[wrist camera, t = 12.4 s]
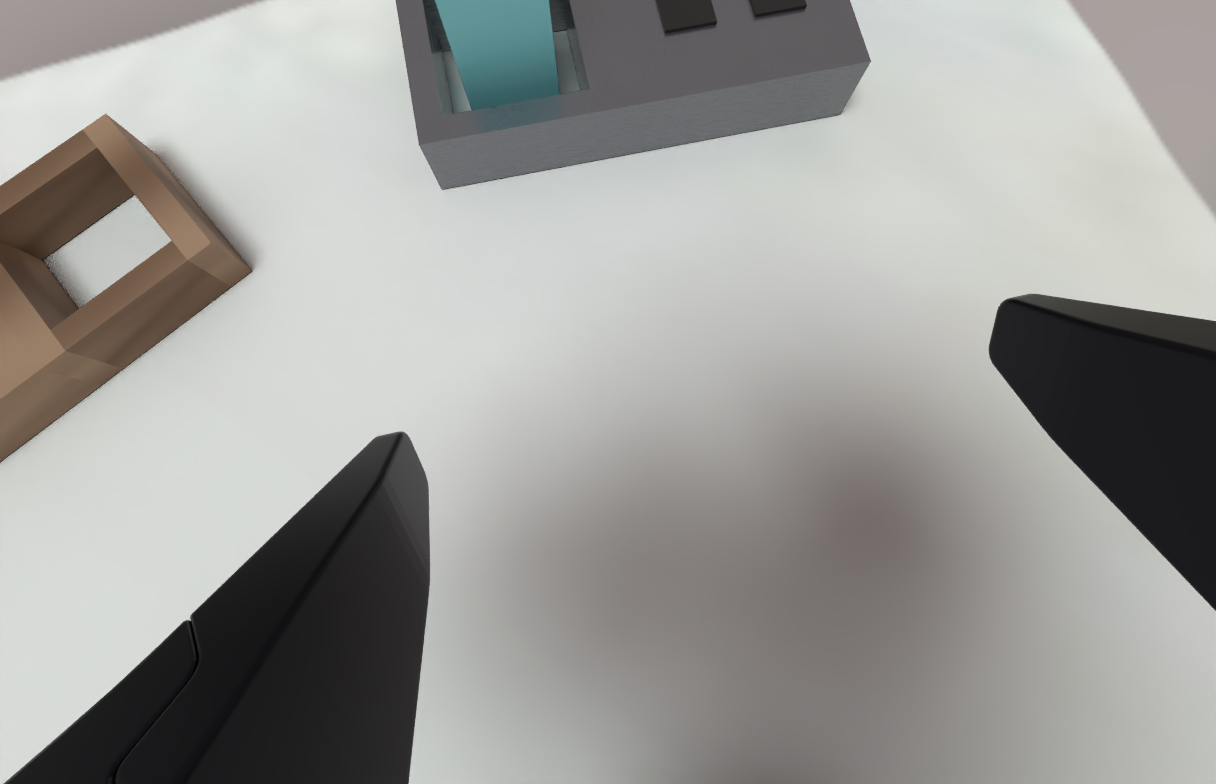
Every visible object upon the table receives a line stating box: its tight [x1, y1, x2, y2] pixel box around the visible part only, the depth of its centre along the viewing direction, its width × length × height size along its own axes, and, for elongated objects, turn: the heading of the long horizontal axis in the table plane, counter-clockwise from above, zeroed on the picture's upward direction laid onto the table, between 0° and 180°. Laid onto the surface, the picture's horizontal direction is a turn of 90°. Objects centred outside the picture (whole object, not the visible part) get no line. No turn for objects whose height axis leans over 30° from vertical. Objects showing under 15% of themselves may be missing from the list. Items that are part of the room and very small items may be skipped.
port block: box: [396, 0, 871, 189], centre depth 24 cm, size 8×17×3 cm, turn 102°
